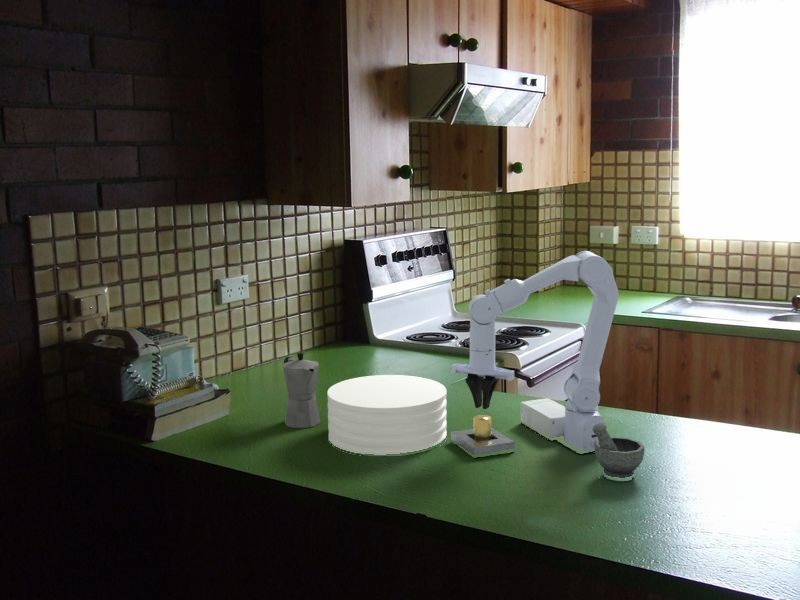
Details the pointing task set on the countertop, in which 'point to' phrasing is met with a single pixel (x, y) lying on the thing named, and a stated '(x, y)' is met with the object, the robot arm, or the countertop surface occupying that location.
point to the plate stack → (386, 414)
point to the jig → (481, 442)
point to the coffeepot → (301, 392)
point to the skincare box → (544, 416)
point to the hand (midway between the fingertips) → (482, 407)
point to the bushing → (482, 428)
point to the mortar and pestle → (617, 453)
